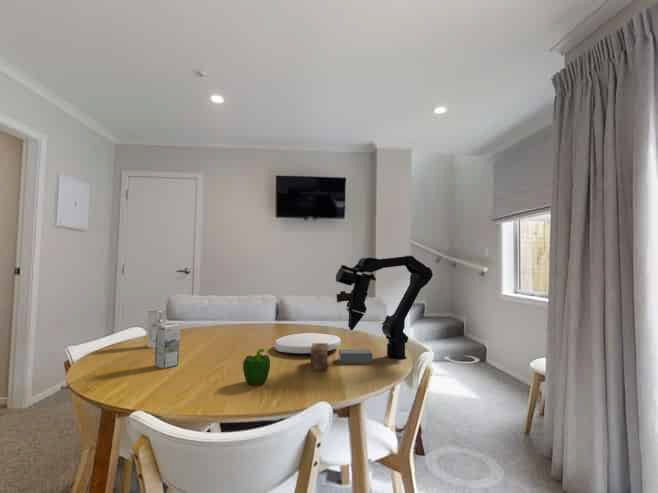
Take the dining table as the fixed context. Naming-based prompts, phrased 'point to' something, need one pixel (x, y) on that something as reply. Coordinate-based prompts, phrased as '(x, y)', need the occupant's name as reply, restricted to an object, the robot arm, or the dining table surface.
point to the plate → (305, 342)
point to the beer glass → (154, 325)
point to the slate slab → (355, 356)
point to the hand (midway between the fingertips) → (350, 328)
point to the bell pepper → (256, 368)
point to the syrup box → (167, 345)
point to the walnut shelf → (319, 356)
